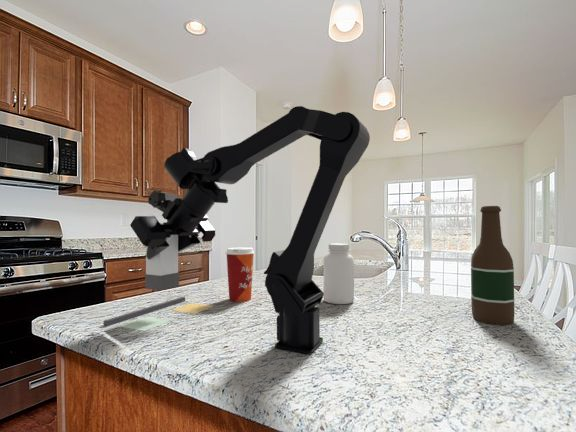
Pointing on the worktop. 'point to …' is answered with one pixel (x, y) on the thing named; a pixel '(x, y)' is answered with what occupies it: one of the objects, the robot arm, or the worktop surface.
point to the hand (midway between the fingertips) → (157, 256)
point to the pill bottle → (338, 275)
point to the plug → (163, 267)
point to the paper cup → (240, 273)
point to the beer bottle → (492, 273)
